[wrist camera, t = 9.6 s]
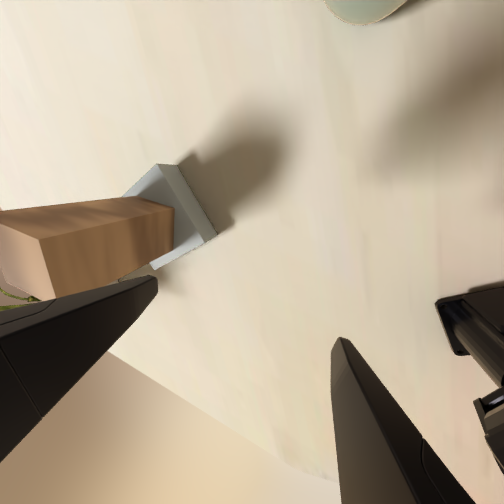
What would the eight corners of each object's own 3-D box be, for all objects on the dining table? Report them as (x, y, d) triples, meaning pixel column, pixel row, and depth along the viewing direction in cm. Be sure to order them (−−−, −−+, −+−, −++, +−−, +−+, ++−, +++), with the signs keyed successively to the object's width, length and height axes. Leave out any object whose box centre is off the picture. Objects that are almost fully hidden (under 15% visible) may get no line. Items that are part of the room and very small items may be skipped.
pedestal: (217, 234, 23) (204, 242, 20) (170, 260, 27) (154, 270, 24) (176, 165, 21) (156, 163, 19) (132, 203, 25) (110, 206, 22)
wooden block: (174, 208, 20) (38, 239, 10) (173, 250, 22) (59, 309, 12) (136, 195, 21) (-23, 213, 11) (138, 237, 23) (6, 282, 13)
